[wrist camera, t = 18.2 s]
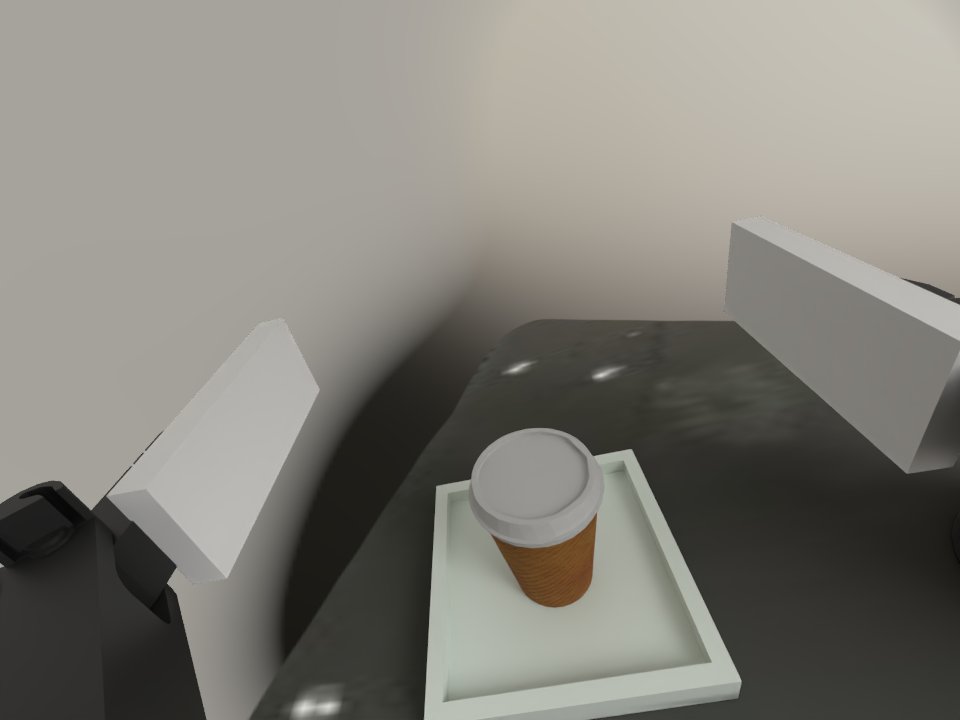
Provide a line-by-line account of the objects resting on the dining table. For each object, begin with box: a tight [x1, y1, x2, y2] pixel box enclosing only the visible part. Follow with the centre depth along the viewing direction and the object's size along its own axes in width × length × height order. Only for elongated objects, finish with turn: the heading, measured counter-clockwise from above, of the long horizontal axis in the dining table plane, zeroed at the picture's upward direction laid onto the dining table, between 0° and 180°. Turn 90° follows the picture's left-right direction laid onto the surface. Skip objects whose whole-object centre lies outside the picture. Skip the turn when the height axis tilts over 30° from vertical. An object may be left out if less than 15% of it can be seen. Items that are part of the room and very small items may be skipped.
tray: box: [424, 449, 742, 720], centre depth 37 cm, size 20×20×2 cm
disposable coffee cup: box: [469, 428, 604, 608], centre depth 33 cm, size 10×10×12 cm
